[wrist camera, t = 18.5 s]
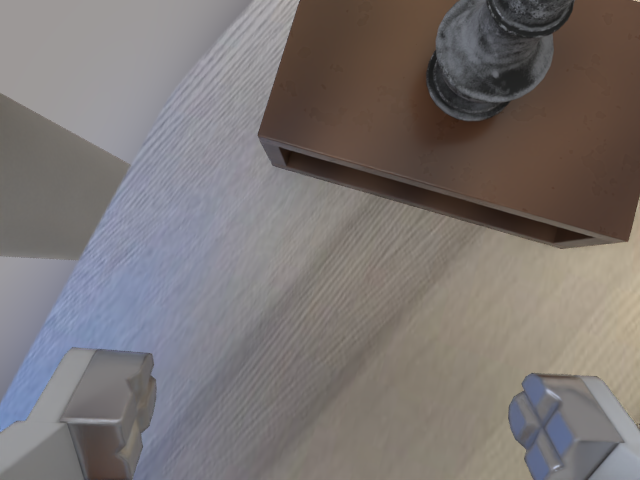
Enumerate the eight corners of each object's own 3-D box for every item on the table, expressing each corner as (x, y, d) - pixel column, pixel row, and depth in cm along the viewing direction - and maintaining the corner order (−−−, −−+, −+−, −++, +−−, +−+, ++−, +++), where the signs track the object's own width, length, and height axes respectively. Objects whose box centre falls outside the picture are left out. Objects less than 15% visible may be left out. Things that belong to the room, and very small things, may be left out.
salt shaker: (458, 10, 25) (573, -223, 14) (541, 66, 25) (735, -123, 13) (400, 88, 25) (466, -80, 13) (484, 146, 25) (629, 27, 13)
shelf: (272, 165, 32) (256, 135, 25) (325, -7, 33) (324, -81, 26) (561, 249, 31) (629, 241, 24) (608, 69, 32) (685, 13, 25)
